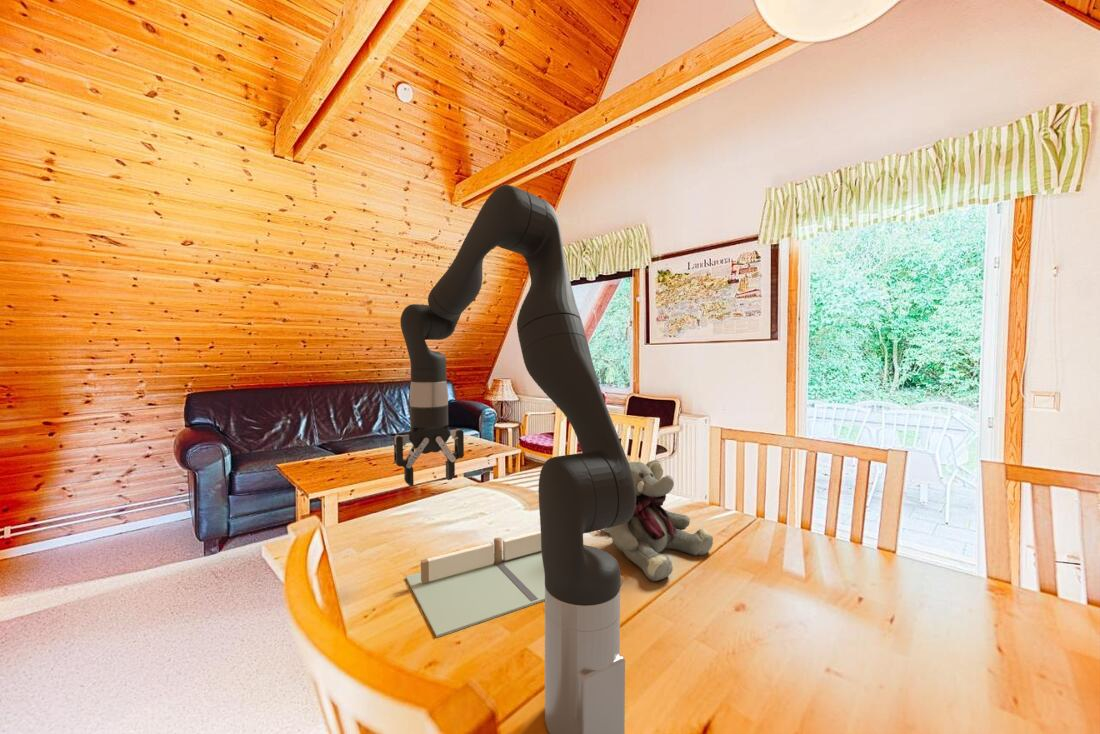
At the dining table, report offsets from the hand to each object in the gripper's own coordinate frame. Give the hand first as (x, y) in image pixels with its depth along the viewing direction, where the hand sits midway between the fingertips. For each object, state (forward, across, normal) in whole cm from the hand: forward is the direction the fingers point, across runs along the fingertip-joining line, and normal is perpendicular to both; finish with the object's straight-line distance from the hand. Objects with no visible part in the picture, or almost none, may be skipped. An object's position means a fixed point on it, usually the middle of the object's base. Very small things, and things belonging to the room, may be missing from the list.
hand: (430, 481), depth 92 cm
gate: (+17, +4, -6) cm, 19 cm away
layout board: (+18, +11, -12) cm, 24 cm away
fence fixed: (+18, +19, -6) cm, 27 cm away
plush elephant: (+19, +45, -16) cm, 51 cm away
